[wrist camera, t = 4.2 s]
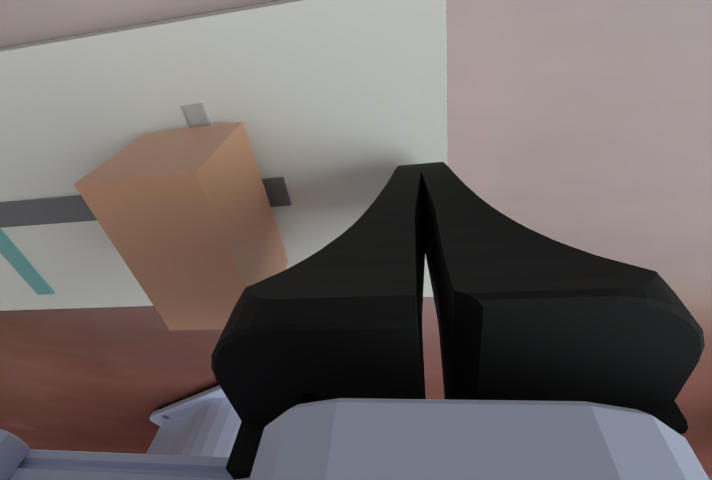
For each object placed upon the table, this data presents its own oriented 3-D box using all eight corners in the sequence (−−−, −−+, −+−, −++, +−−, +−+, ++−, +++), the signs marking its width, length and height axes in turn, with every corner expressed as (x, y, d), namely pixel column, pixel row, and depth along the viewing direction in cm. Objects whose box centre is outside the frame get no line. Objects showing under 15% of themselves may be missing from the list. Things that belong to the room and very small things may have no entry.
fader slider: (242, 121, 10) (195, 172, 8) (288, 261, 13) (263, 328, 11) (145, 133, 11) (73, 183, 9) (209, 265, 14) (169, 330, 12)
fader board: (440, -28, 10) (446, -24, 8) (444, 269, 16) (448, 298, 14) (-244, 90, 14) (-311, 104, 12) (-36, 290, 20) (-66, 314, 18)
